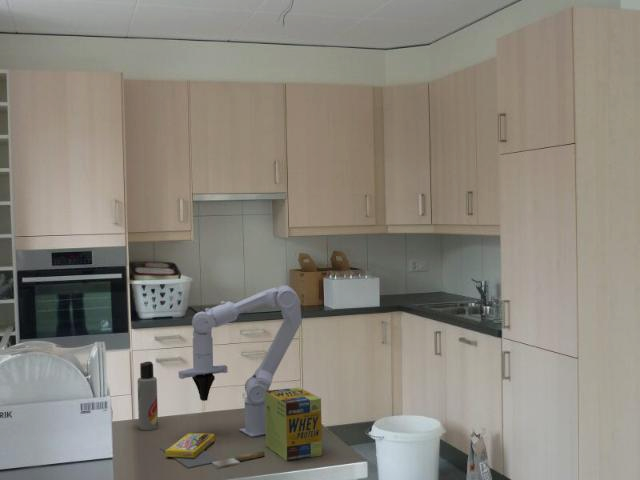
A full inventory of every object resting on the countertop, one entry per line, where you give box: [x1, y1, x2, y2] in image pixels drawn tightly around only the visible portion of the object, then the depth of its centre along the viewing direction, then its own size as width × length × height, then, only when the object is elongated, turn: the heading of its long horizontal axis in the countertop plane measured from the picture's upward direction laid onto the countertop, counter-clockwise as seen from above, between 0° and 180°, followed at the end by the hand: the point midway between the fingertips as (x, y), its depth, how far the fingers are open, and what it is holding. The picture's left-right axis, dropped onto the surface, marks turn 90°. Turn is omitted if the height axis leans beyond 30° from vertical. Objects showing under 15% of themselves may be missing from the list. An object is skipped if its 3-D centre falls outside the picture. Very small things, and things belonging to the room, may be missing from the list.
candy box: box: [164, 432, 216, 458], centre depth 217 cm, size 16×2×8 cm
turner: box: [212, 450, 265, 469], centre depth 207 cm, size 14×4×1 cm, turn 122°
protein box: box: [265, 387, 323, 462], centre depth 215 cm, size 10×15×16 cm
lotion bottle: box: [137, 361, 159, 431], centre depth 239 cm, size 6×6×20 cm
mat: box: [159, 444, 220, 469], centre depth 213 cm, size 9×20×1 cm, turn 32°
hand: (203, 399), depth 230 cm, fingers closed
